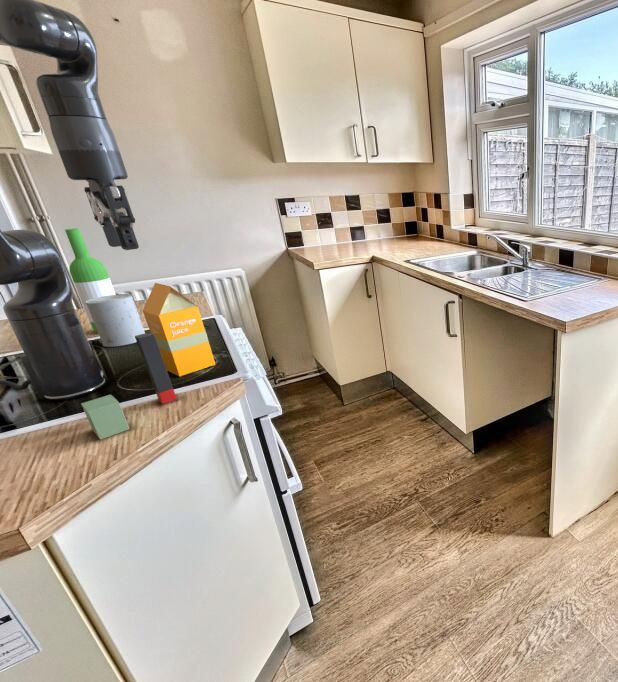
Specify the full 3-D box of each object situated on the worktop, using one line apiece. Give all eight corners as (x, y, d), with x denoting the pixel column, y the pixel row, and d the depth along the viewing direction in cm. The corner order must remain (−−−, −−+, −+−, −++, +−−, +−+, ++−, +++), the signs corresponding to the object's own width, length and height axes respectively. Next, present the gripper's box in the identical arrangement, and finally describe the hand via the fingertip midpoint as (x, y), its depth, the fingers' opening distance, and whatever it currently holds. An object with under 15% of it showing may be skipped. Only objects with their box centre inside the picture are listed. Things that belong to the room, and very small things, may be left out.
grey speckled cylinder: (94, 344, 117) (77, 301, 112) (134, 333, 125) (119, 293, 120) (115, 348, 113) (97, 304, 109) (154, 336, 121) (139, 295, 117)
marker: (138, 338, 78) (154, 334, 80) (134, 335, 79) (150, 332, 81) (162, 404, 83) (177, 399, 85) (158, 401, 84) (173, 396, 86)
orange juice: (179, 376, 95) (149, 290, 88) (162, 368, 99) (132, 286, 92) (216, 364, 101) (191, 282, 94) (199, 357, 106) (174, 279, 98)
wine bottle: (90, 331, 128) (48, 230, 117) (122, 323, 134) (85, 227, 123) (99, 335, 124) (57, 231, 113) (132, 327, 130) (94, 228, 119)
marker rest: (100, 439, 72) (87, 411, 70) (93, 430, 75) (80, 403, 73) (129, 429, 75) (118, 401, 73) (121, 420, 78) (110, 394, 76)
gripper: (130, 147, 69) (162, 247, 74) (107, 152, 77) (138, 242, 83) (66, 145, 63) (107, 254, 69) (49, 151, 71) (87, 248, 77)
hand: (124, 247), depth 76 cm, fingers open, 8 cm apart
